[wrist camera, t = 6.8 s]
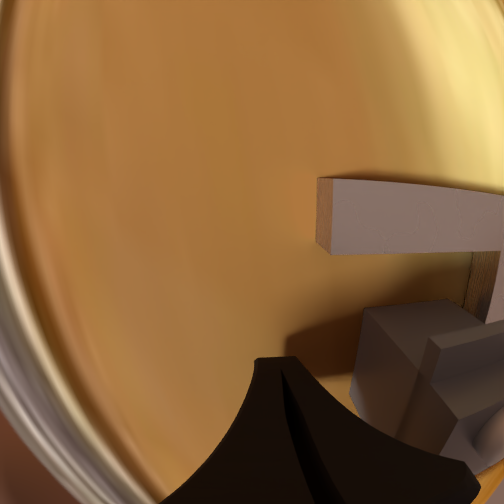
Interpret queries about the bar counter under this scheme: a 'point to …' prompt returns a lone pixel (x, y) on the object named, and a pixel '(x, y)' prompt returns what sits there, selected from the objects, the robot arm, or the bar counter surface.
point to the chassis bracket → (418, 229)
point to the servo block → (433, 380)
